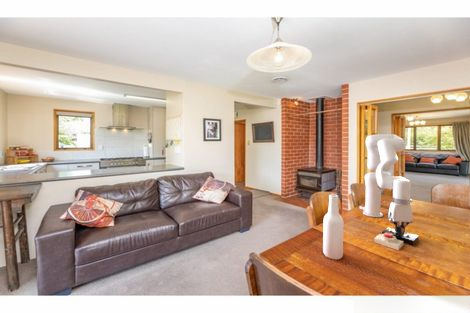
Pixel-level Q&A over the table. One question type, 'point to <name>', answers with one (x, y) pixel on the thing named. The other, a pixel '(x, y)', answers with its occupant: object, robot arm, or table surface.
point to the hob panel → (403, 236)
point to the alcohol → (333, 230)
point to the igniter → (388, 241)
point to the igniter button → (388, 235)
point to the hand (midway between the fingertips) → (399, 232)
